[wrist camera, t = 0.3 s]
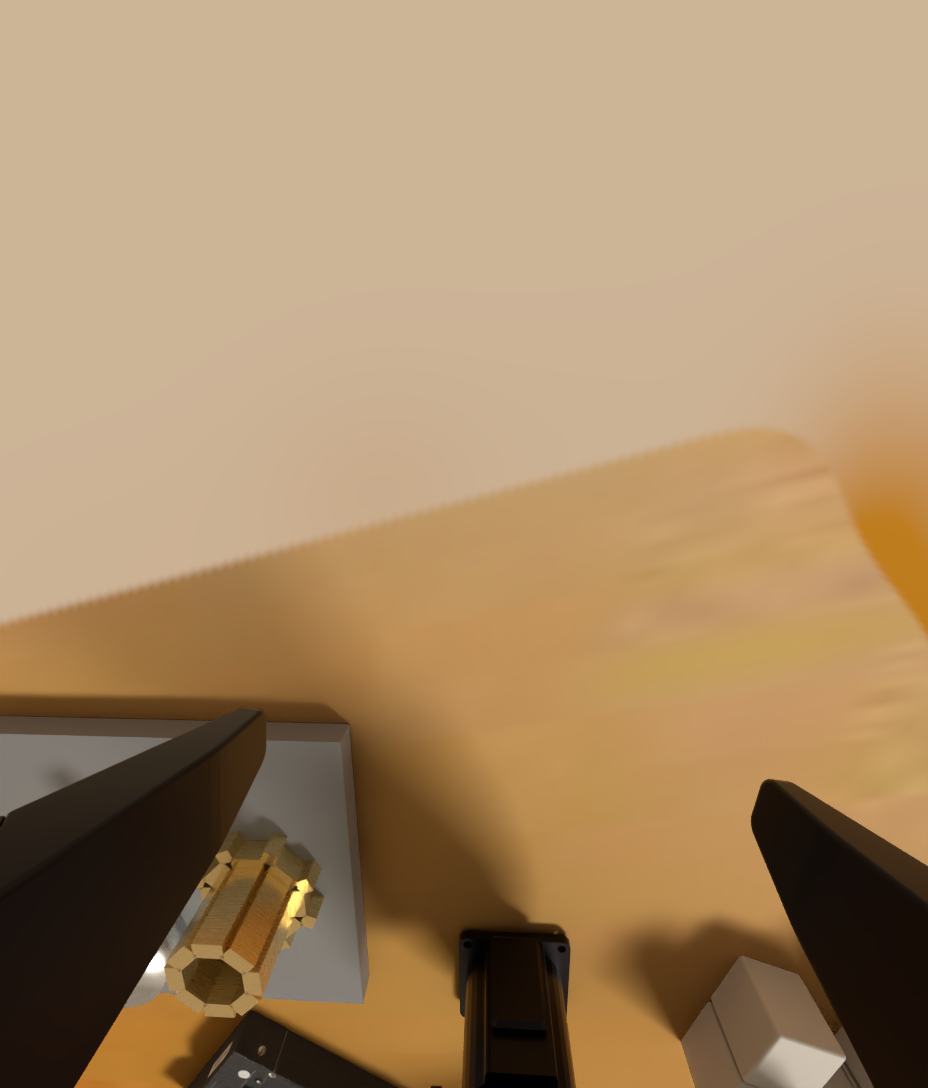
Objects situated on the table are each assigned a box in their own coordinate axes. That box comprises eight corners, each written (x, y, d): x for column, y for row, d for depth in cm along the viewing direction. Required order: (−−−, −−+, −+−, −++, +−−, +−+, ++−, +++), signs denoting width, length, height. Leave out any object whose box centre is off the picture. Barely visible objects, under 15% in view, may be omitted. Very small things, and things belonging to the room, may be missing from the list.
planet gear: (327, 929, 26) (292, 1038, 21) (214, 924, 26) (155, 1030, 22) (317, 833, 24) (277, 928, 20) (196, 829, 25) (128, 921, 20)
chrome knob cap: (195, 969, 27) (160, 1033, 24) (99, 963, 27) (53, 1027, 25) (179, 889, 26) (140, 947, 23) (78, 885, 26) (27, 942, 23)
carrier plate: (369, 974, 29) (343, 1093, 23) (66, 958, 30) (-22, 1069, 24) (349, 723, 24) (311, 801, 19) (-4, 715, 25) (-129, 787, 20)
